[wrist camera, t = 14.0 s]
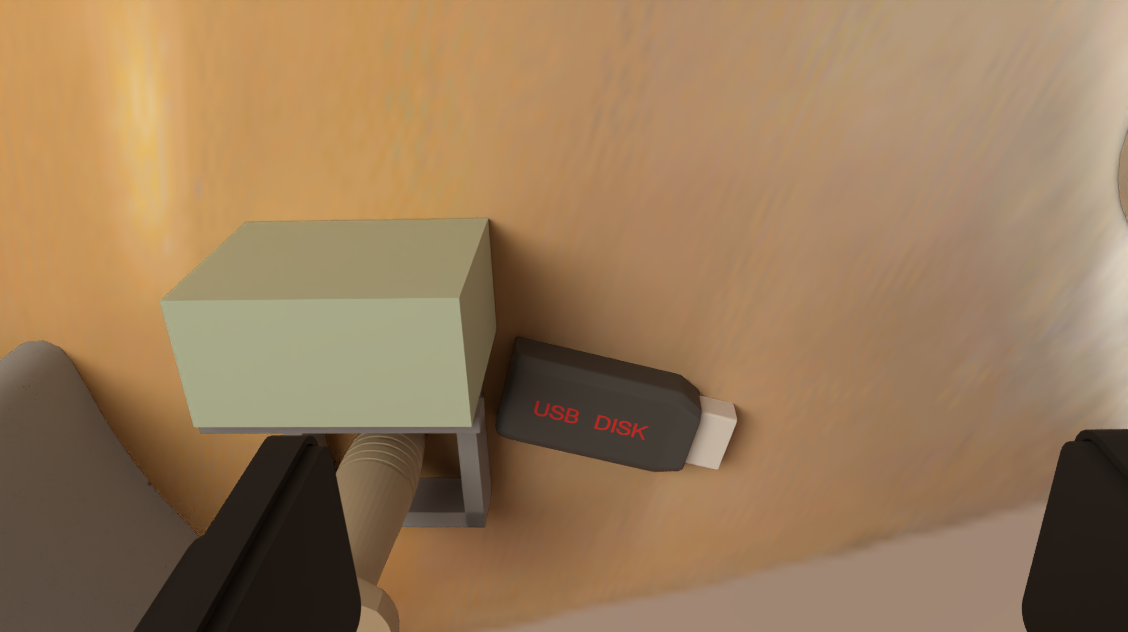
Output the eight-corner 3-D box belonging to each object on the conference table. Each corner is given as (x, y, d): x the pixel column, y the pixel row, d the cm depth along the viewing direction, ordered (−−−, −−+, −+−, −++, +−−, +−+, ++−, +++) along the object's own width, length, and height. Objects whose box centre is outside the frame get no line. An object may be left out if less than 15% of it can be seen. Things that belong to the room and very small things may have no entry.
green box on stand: (492, 218, 41) (464, 297, 33) (512, 492, 49) (493, 611, 41) (241, 222, 42) (154, 301, 34) (299, 491, 49) (238, 608, 41)
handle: (337, 384, 46) (222, 588, 33) (455, 389, 46) (389, 597, 32) (346, 458, 48) (241, 677, 35) (459, 463, 48) (398, 686, 35)
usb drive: (517, 333, 45) (511, 358, 42) (737, 384, 45) (745, 413, 43) (497, 414, 47) (491, 443, 44) (707, 462, 48) (713, 493, 45)
